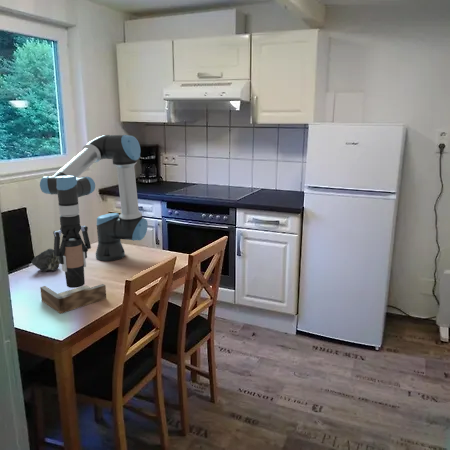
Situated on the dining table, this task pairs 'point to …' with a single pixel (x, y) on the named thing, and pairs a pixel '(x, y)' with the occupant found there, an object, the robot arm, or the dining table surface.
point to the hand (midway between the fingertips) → (74, 268)
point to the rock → (46, 261)
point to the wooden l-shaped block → (73, 297)
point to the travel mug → (74, 263)
